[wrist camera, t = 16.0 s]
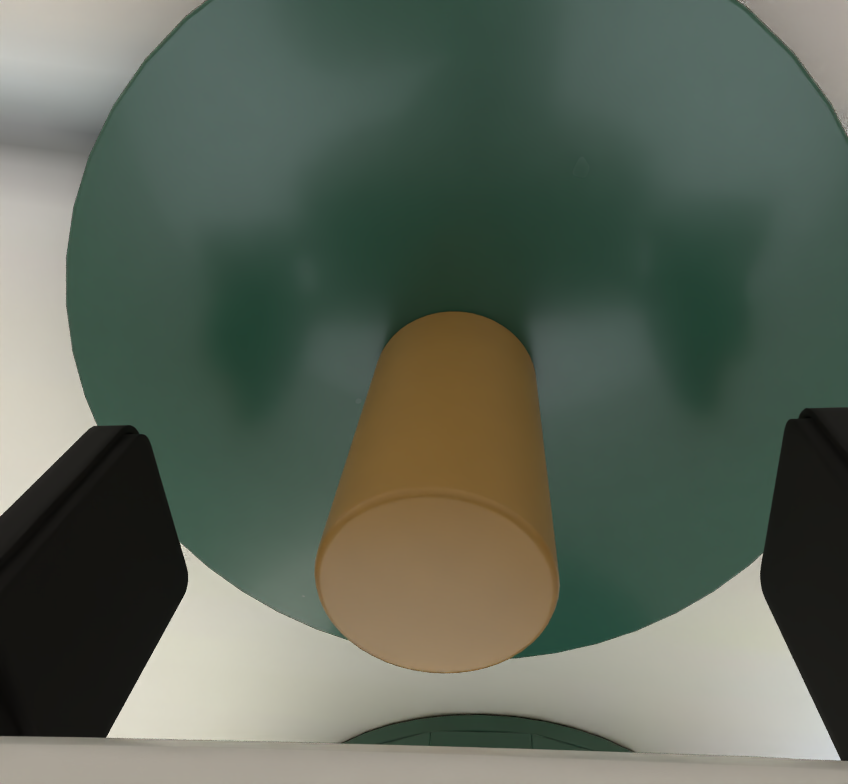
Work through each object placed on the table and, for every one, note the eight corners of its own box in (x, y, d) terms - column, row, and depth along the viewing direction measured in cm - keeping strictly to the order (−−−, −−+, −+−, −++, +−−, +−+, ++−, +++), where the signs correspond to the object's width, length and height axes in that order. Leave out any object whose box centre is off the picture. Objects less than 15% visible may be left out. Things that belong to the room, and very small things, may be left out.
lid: (-15, -34, 11) (-507, -67, 6) (947, -135, 9) (1557, -316, 4) (193, 618, 18) (60, 894, 12) (783, 621, 16) (933, 939, 11)
